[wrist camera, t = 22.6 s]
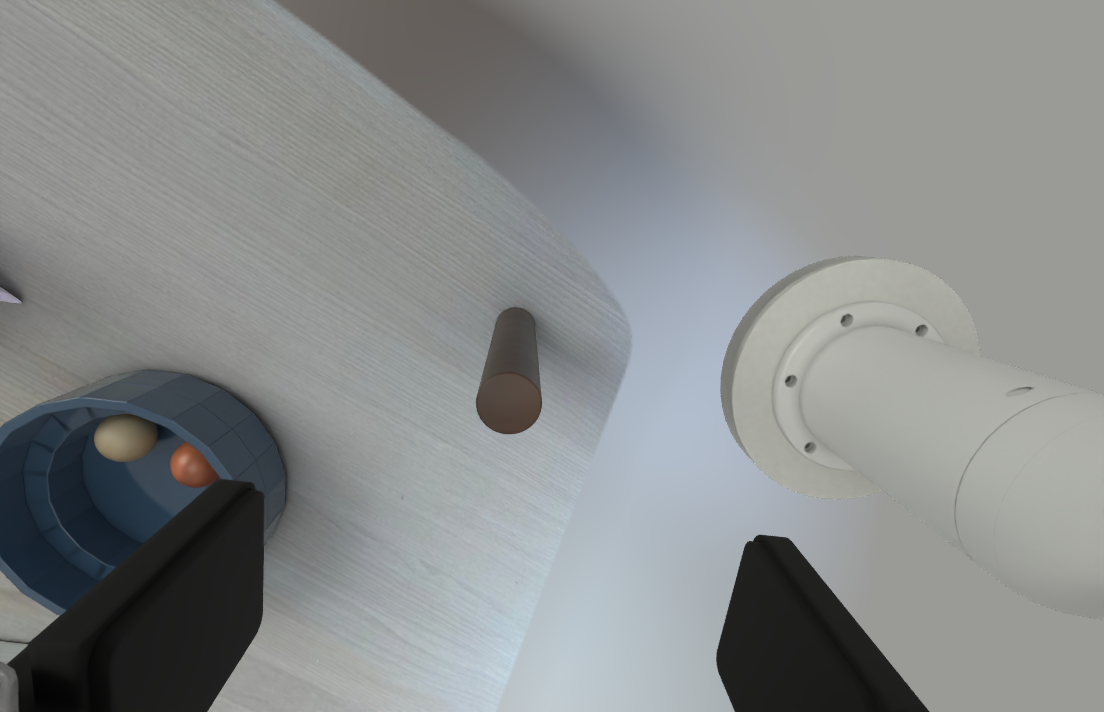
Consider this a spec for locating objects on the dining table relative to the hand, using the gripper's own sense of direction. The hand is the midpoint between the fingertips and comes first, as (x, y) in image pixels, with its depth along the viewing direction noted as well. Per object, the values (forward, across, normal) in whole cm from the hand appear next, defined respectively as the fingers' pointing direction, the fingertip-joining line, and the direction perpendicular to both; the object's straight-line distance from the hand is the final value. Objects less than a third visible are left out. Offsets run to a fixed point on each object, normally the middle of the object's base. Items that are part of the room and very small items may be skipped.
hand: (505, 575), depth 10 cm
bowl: (+26, +22, +14) cm, 37 cm away
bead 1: (+24, +24, +10) cm, 35 cm away
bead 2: (+24, +19, +12) cm, 33 cm away
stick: (+26, 0, +1) cm, 26 cm away
